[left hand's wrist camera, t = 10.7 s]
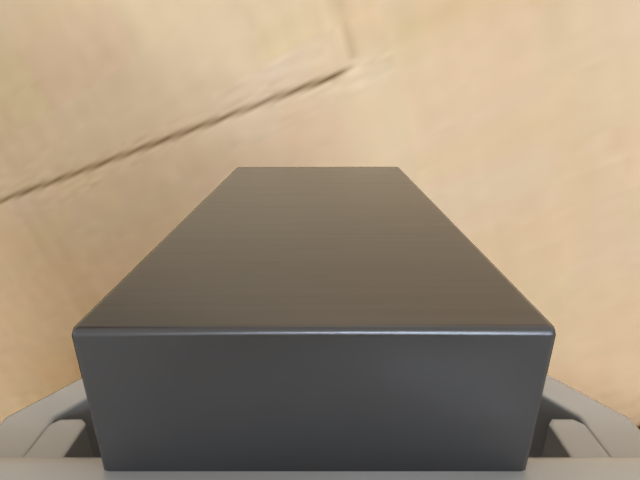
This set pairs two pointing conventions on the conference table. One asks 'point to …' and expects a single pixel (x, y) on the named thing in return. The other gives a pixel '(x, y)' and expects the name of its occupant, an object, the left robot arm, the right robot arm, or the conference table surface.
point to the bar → (314, 337)
